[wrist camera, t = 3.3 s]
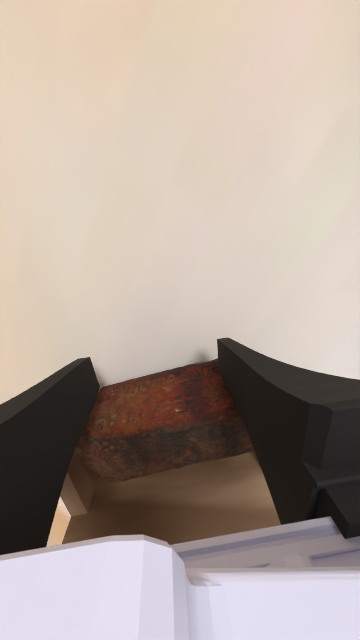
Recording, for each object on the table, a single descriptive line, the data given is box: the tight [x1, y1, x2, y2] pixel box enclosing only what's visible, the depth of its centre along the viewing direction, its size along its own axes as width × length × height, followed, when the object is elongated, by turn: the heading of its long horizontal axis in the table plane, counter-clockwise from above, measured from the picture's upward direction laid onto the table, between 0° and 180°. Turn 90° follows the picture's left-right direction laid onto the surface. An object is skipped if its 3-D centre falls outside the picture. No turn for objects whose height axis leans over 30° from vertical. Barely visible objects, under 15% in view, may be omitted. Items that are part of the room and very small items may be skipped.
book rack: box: [60, 446, 281, 545], centre depth 13 cm, size 9×16×7 cm, turn 97°
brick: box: [77, 359, 255, 482], centre depth 12 cm, size 11×4×5 cm, turn 104°
